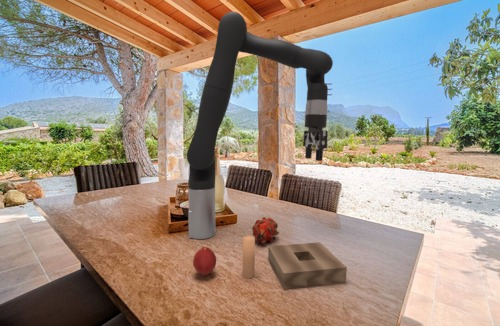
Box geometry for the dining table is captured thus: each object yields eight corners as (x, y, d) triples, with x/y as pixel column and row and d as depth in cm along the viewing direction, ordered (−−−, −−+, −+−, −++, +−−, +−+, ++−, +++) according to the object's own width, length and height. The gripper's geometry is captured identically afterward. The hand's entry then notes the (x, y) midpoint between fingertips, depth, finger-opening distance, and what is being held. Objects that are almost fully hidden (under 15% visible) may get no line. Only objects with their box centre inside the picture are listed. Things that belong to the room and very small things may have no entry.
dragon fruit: (272, 237, 88) (262, 257, 78) (254, 222, 90) (241, 240, 79) (285, 222, 85) (276, 241, 74) (266, 207, 86) (255, 223, 75)
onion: (195, 269, 65) (194, 240, 64) (216, 268, 65) (216, 239, 64) (191, 282, 59) (191, 250, 58) (215, 281, 59) (215, 250, 58)
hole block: (283, 289, 56) (283, 273, 56) (268, 259, 70) (268, 246, 70) (345, 282, 59) (346, 267, 59) (319, 254, 73) (320, 242, 72)
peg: (243, 279, 60) (243, 240, 59) (241, 272, 63) (242, 235, 62) (255, 278, 61) (256, 240, 60) (253, 271, 64) (253, 235, 63)
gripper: (298, 115, 92) (296, 157, 94) (315, 111, 78) (312, 161, 80) (316, 116, 93) (314, 157, 95) (336, 112, 80) (333, 161, 81)
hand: (313, 159), depth 88 cm, fingers open, 8 cm apart
